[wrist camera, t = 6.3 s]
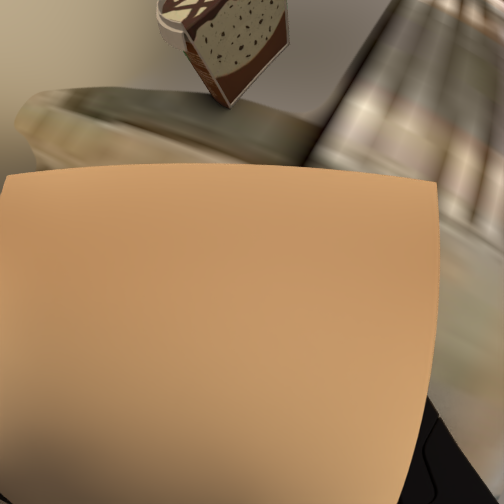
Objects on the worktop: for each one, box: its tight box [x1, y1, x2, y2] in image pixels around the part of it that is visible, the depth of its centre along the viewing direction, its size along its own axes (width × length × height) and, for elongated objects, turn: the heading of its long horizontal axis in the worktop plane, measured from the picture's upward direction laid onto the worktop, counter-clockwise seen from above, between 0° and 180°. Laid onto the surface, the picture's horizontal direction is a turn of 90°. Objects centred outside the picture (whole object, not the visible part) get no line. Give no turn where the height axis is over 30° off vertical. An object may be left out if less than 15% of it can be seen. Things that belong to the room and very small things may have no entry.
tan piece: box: [0, 163, 440, 504], centre depth 8 cm, size 6×7×12 cm
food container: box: [156, 0, 290, 109], centre depth 20 cm, size 12×6×10 cm, turn 145°
